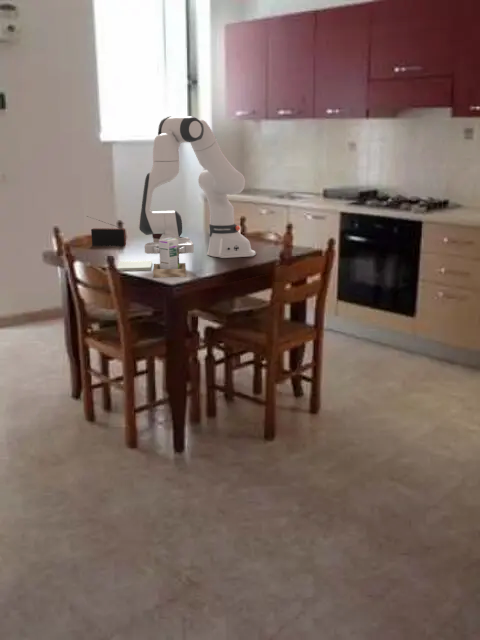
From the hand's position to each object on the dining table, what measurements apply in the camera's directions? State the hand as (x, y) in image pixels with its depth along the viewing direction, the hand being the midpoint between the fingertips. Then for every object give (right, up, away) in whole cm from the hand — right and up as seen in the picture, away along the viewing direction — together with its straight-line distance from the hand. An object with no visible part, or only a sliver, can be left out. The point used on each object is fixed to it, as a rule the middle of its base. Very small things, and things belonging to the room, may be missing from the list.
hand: (169, 251), depth 296 cm
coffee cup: (-10, +9, +67) cm, 69 cm away
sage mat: (-16, -5, +17) cm, 24 cm away
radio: (-38, +9, +69) cm, 79 cm away
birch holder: (0, -9, +3) cm, 10 cm away
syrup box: (0, -9, +3) cm, 10 cm away
